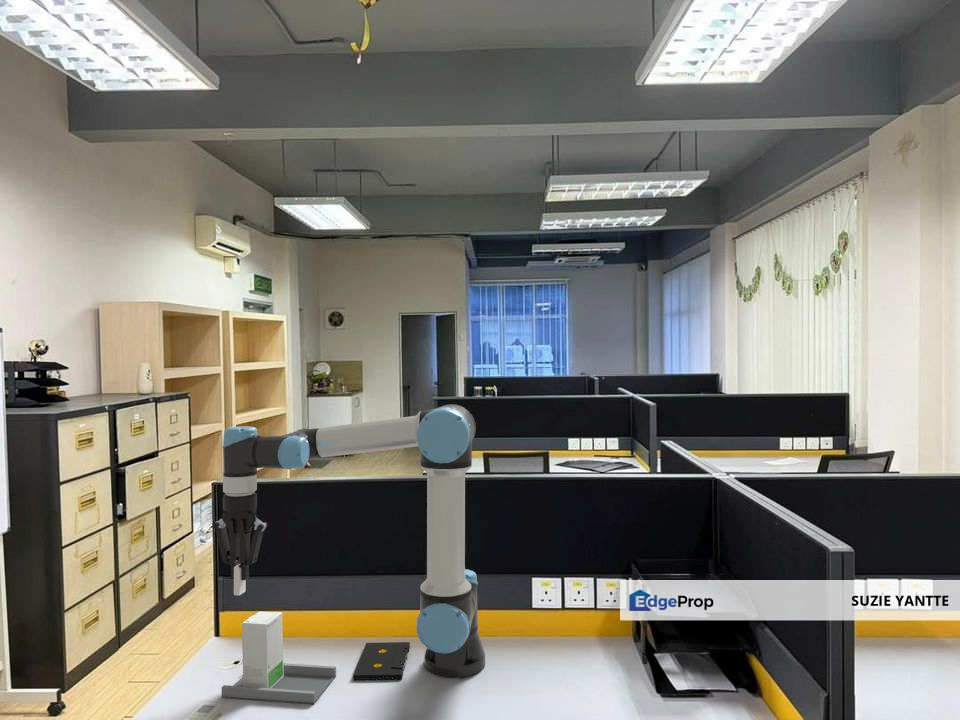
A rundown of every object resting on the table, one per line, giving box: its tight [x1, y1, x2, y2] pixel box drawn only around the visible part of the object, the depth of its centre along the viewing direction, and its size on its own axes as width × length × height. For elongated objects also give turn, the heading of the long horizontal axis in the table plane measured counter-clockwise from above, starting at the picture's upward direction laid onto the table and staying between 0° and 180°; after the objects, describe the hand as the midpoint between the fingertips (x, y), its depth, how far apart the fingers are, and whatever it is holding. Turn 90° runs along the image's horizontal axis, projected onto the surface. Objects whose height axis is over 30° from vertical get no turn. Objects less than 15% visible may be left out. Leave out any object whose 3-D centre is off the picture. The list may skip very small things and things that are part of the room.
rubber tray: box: [221, 662, 337, 706], centre depth 154 cm, size 22×13×2 cm, turn 81°
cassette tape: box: [352, 641, 411, 682], centre depth 165 cm, size 18×12×2 cm, turn 0°
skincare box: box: [241, 611, 284, 688], centre depth 155 cm, size 8×7×16 cm
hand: (239, 593), depth 155 cm, fingers closed
